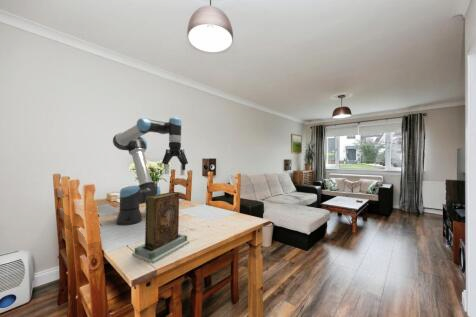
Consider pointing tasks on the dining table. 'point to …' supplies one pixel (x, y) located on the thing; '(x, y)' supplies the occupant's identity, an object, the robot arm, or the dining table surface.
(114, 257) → the dining table surface
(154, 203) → the book
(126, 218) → the robot arm
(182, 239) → the tray
